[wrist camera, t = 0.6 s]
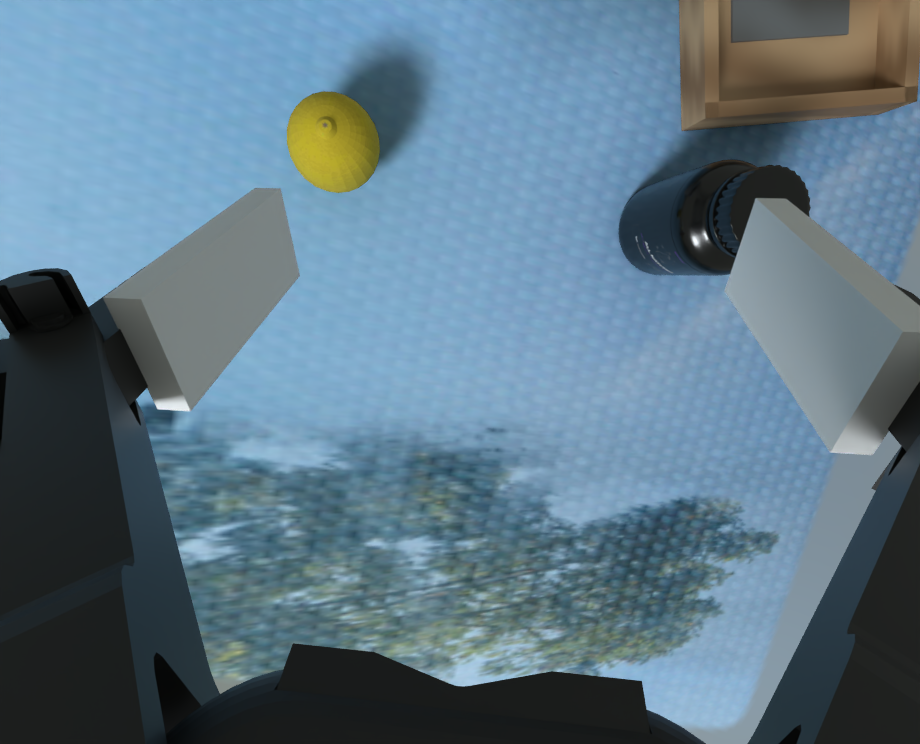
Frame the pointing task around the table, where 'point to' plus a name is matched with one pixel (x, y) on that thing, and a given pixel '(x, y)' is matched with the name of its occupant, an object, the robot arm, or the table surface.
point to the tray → (795, 60)
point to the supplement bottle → (701, 216)
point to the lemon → (333, 142)
